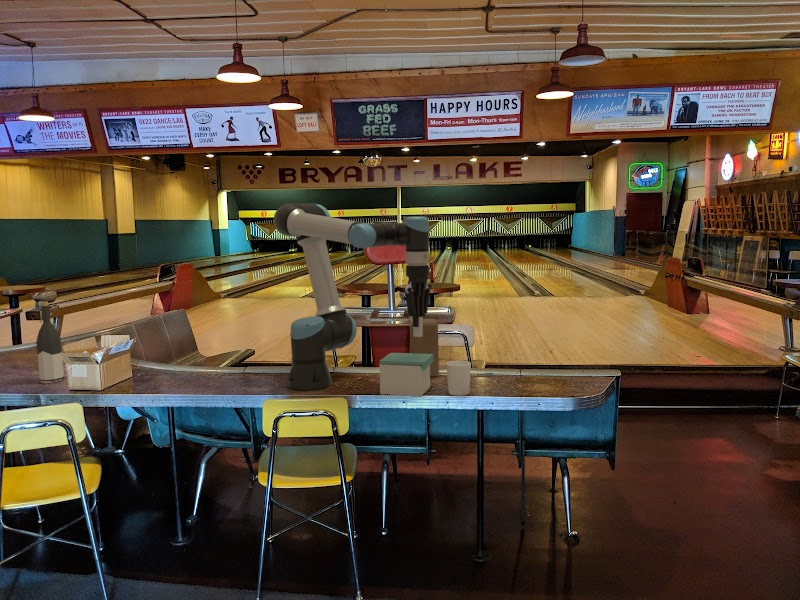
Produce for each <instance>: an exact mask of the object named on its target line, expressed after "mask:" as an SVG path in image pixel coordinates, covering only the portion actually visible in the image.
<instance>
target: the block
mask: <svg viewBox="0 0 800 600" xmlns="http://www.w3.org/2000/svg"><path fill="white" fill-rule="evenodd" d="M409 348H410V349H409V353H414V354H433V362H432V363H431V364H430V378H433V377H434V378H435V377H436V378H437V377H439V375H440V372H439V371H440V366H439V365H440V363H439V361H440V359H439V351H440V350H439V324H438V321H437V319H435V318H423V337H415V336H413V318H412V319H410V320H409Z"/></svg>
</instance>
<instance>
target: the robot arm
mask: <svg viewBox="0 0 800 600" xmlns="http://www.w3.org/2000/svg"><path fill="white" fill-rule="evenodd" d="M429 224H430V223H429V218H428V217H427V216H407V217H405V221H404V222H381V223H379V222H378V223H377V222H375V223H371V222H370V223H369V222H362V221H357V220H356V221H355V220H350V219H349V220H348V219H342V218H337V217H332V215H331V214H330V212H329V211H328V209H327V208H326V207H324V206H323V205H321V204H317V203H313V202H311V203H310V202H309V203H287V204H283V205H281V206H280V207H278V208H277V210H276V211H275V213H274V216H273V225H274V227H275V229H276V230H277V231H278V233H279V234H280V235H283V236H285V237H286V236H287V237H295V238H296V241H297V242H296V243H297V244H298V245H299V246H300V247H302V250H303V254H304V259H305V263H306V267H307V270H308V274H309V280H310V284H311V288H312V292H313V296H314V300H315V305H316V309H317V312H316V313H315V315H313V316H306V317H301V318H298V319H295V320H294V321H292V322H291V324H290V333H289V334H290V335H289V336H290V349H291V350H290V351H291V367H290V372H289V374H288V379H287V387H288V388H289V389H290V390H291V389H292V390H297V391H313V390H315V391H316V390H321V389H325V388H329V387H330V386H332V375H331V373H330V370H329V367H328V364H327V361H326V357H327V356H326V352H329V351H334V350H337V349H343V348H345V347H348V346H349V345H351V344H352V343H353V342H354V340H355V338H356V336H357V333H358V332H357V327H358V326H357V323H356V321H355V319H354V318H353V317H352V316H351V315H350V314H348V312H347V309H346V308H345V307H344V306H342V305H341V301H340V296H339V292H338V289H337V288H338V287H337V285H336V280H335V276H334V272H333V267H332V263H331V258H330V254H329V249H328V246H327V240H328V241H332V242H337V243H338V242H339V243H341V244H342V243H344V244H349V245H352V246H353V247H355V248H357V249H367V248H368V249H369V248H376V247H377V248H378V247H394V246H395V247H397V246H398V247H400V246H403V247H405V264H406V266H405V276H406V277H407V278H408V281H407V286H406V287H405V286H404V287H403V288H402V290H403V293H404V297H405V301H406V302H405V303H406V309H407V313H408V316H409V317H411V318H412V319H413V336H415V337H423V319H424V317H426V316H427V314H428V310H429V309H428V306H429V301H430V293H431V290H432V286H433V285H432V283H431V284H429V283H428V280H427V278H428V277H429V276H430V266H429V263H430V252H429V251H430V249H429V247H430V246H429V245H430V244H429V242H430V239H429V238H430V228H429V227H430V226H429Z"/></svg>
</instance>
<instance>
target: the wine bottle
mask: <svg viewBox="0 0 800 600" xmlns="http://www.w3.org/2000/svg"><path fill="white" fill-rule="evenodd" d="M40 308H41V314H42V324H41V327H40V328H39V331H38V333H37V337H36V342H35V343H36V354H37V360H38V361H37V362H38V372H39V381H40V380H41V381H55V380H59V379H63V377H64V378H65V371H64V362H63V361H64V360H63V361H62V359H63V358H62V359H61V358H60V357H59V355H58V354H59V353H62V354H63V350H62V342H61V341H62V339H61V337H60V334H59V332H58V331H57V329H56V327H55V325H53V323H52V322H51V310H50V305H49V301H41V307H40Z"/></svg>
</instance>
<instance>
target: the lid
mask: <svg viewBox="0 0 800 600" xmlns="http://www.w3.org/2000/svg"><path fill="white" fill-rule="evenodd" d="M432 362H433V354H414V353H410V352H409V353H407V352H405V353H404V352H390V353H388V354H387V355H386V356H384V357H383V358H382V359H380V360H379V364H400V365H422V370H425V369H426V368H427V367H428V366H429V365H430V364H431V363H432Z"/></svg>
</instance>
